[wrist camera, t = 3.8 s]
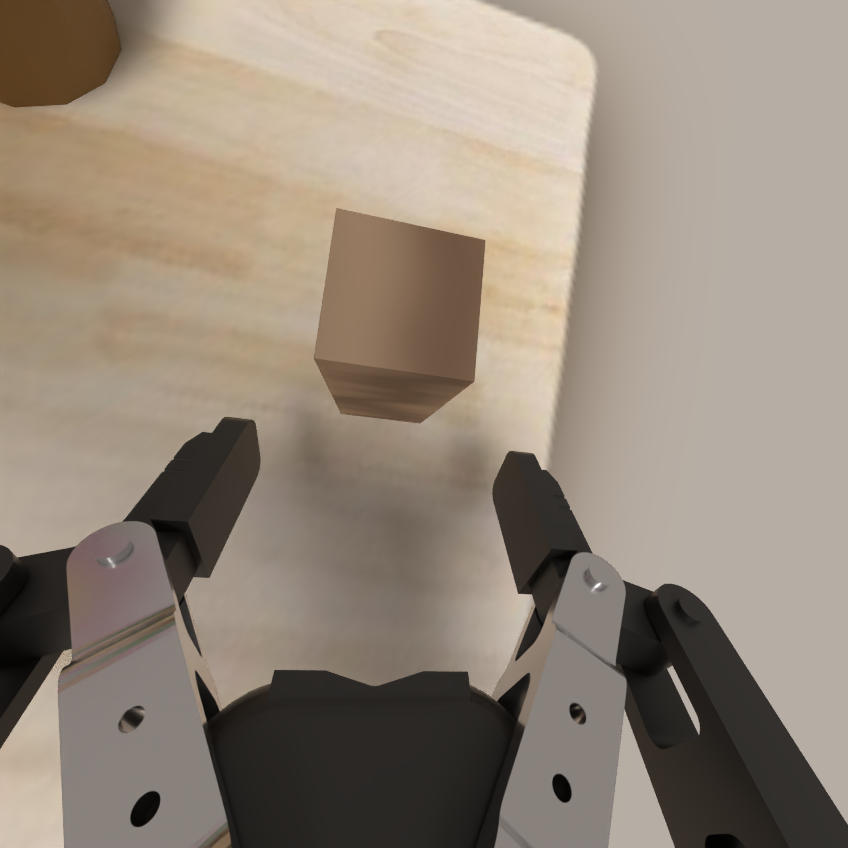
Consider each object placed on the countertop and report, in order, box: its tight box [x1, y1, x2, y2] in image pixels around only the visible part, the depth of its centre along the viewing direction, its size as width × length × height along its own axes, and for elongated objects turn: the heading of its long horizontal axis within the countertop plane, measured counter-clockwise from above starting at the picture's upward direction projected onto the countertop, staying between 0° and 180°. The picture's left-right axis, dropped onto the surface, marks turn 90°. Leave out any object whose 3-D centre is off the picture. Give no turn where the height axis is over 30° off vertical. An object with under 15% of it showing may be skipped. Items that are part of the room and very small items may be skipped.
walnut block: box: [314, 208, 485, 423], centre depth 16 cm, size 5×5×11 cm
